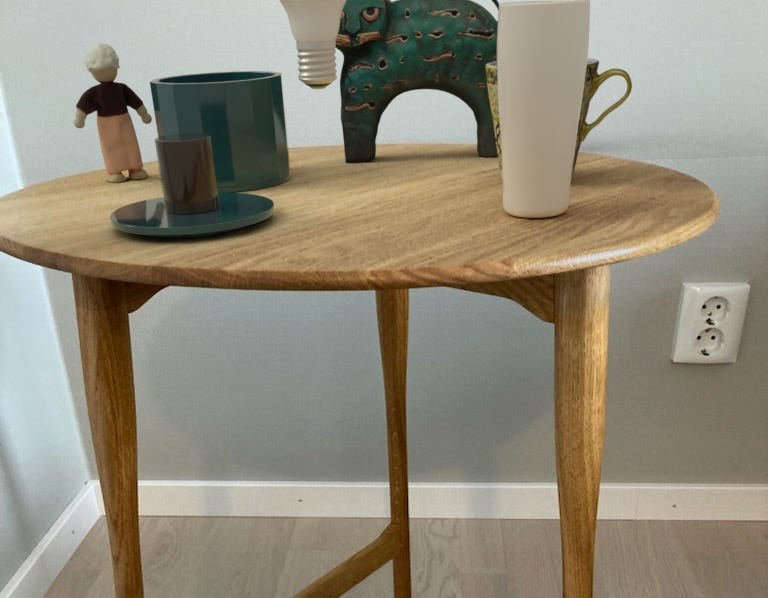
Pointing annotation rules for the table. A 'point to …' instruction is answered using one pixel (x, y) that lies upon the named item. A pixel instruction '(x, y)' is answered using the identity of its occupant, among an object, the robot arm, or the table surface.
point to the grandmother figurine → (112, 115)
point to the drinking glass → (540, 101)
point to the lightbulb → (315, 38)
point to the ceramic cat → (413, 63)
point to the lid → (190, 196)
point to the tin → (230, 123)
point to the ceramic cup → (589, 90)
